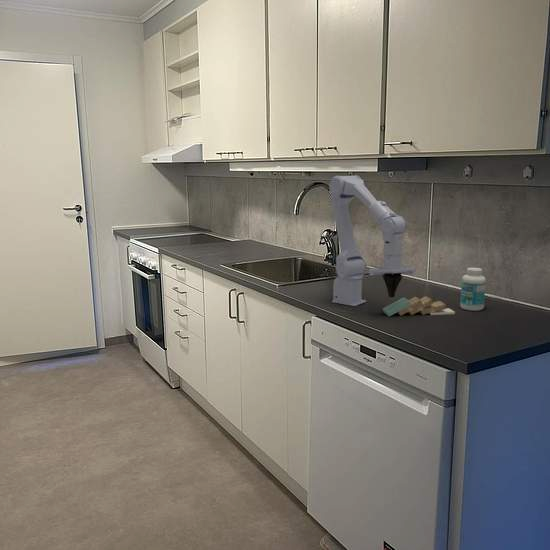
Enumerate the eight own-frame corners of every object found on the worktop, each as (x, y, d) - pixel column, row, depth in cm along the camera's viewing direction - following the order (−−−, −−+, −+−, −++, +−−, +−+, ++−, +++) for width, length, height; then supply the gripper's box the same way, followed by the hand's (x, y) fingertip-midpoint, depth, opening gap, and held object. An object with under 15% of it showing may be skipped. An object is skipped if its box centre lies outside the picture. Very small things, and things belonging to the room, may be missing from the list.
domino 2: (398, 311, 169) (420, 299, 169) (393, 308, 174) (415, 296, 174) (400, 315, 170) (422, 304, 170) (395, 312, 174) (417, 300, 174)
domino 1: (387, 312, 169) (409, 300, 169) (382, 308, 173) (404, 297, 173) (389, 316, 169) (411, 304, 169) (384, 312, 174) (406, 301, 174)
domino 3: (409, 311, 170) (431, 299, 170) (404, 307, 174) (425, 296, 174) (411, 315, 170) (433, 303, 170) (406, 311, 174) (427, 300, 175)
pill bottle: (455, 306, 180) (457, 267, 177) (472, 304, 182) (475, 266, 179) (470, 312, 173) (473, 271, 170) (488, 310, 175) (491, 269, 173)
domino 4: (421, 310, 170) (445, 304, 170) (416, 306, 174) (439, 300, 175) (422, 314, 170) (446, 308, 171) (417, 311, 175) (440, 305, 175)
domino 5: (430, 312, 170) (455, 312, 171) (425, 309, 175) (449, 308, 175) (430, 317, 171) (454, 316, 171) (425, 313, 175) (448, 312, 176)
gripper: (373, 257, 163) (372, 300, 166) (419, 256, 164) (417, 298, 167) (367, 253, 170) (366, 295, 173) (411, 252, 171) (410, 293, 174)
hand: (391, 296), depth 170 cm, fingers closed
